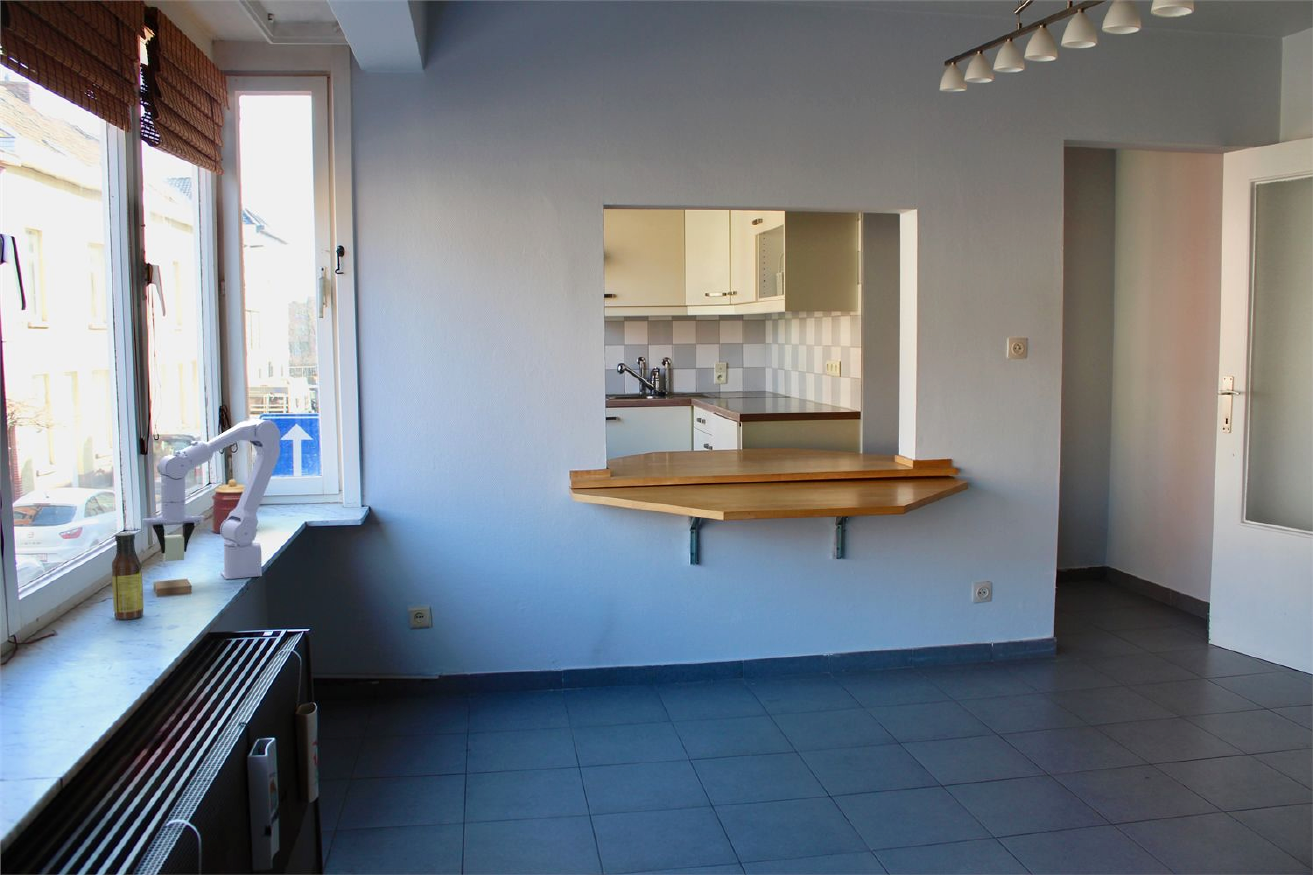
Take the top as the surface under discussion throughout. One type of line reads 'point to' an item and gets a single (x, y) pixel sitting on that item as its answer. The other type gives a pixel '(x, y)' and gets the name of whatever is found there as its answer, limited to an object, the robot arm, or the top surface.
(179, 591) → the walnut base block
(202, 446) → the robot arm
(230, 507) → the canister
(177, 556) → the sage block
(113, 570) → the sauce bottle
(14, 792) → the top surface
